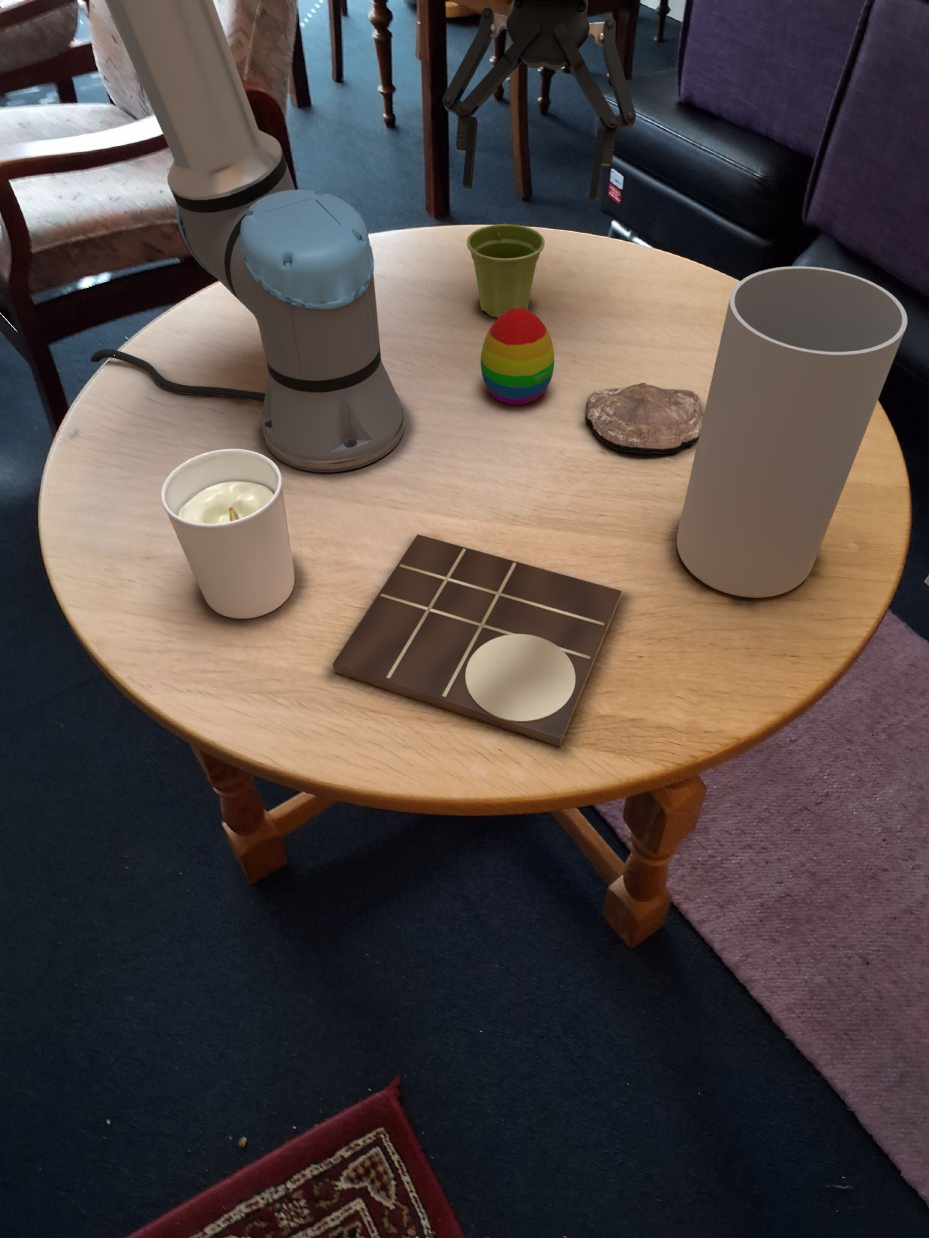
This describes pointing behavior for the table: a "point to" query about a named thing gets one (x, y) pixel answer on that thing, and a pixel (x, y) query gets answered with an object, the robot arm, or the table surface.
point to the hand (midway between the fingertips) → (529, 193)
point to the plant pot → (504, 265)
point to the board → (482, 637)
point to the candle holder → (233, 530)
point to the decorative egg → (517, 357)
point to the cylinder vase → (784, 424)
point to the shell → (645, 418)
